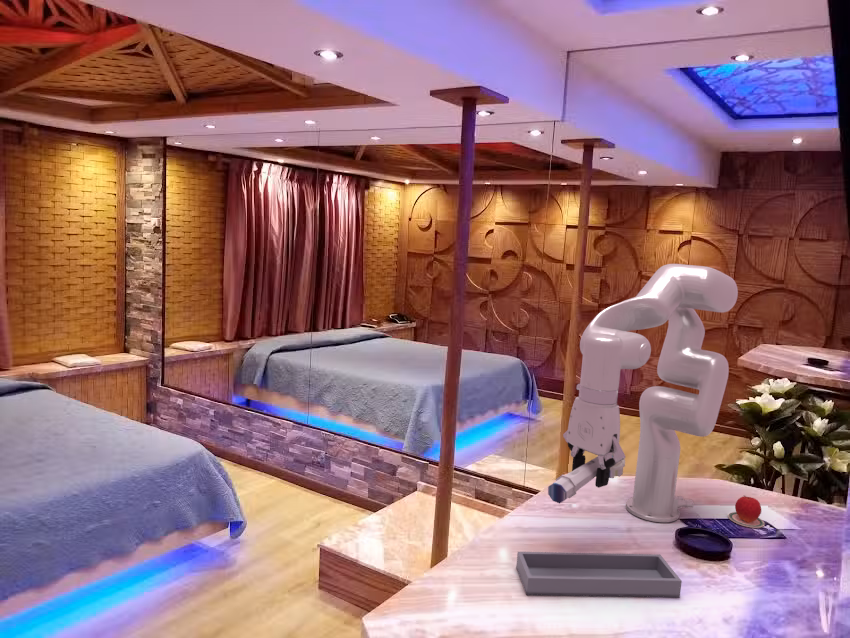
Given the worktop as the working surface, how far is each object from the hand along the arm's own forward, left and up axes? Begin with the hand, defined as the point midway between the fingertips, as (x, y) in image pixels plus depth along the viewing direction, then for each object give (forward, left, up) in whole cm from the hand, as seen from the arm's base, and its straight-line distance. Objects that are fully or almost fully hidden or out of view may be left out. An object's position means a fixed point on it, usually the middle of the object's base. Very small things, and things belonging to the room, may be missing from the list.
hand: (589, 479), depth 131 cm
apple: (-47, -19, -18) cm, 54 cm away
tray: (0, +9, -18) cm, 20 cm away
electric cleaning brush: (0, 0, -1) cm, 2 cm away
